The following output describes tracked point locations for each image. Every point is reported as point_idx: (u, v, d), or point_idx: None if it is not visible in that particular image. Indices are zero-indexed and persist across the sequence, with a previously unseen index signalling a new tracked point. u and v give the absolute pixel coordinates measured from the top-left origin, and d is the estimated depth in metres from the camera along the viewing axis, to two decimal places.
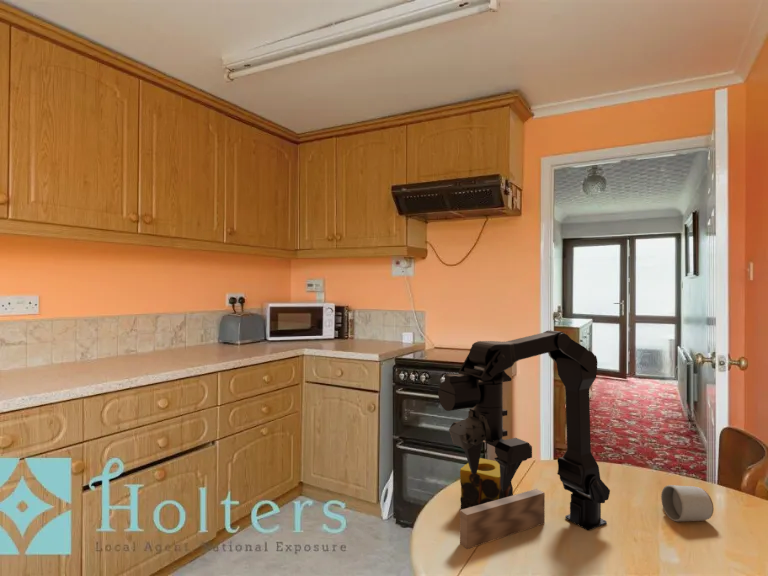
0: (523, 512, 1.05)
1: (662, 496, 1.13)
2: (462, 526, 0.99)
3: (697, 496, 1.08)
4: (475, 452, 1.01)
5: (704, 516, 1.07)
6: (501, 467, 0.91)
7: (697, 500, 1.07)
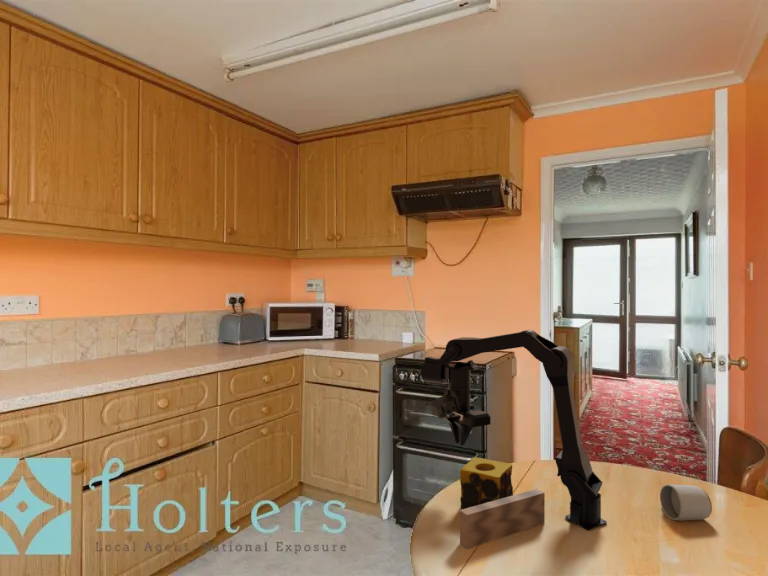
0: (523, 512, 1.05)
1: (661, 495, 1.14)
2: (462, 526, 0.99)
3: (695, 495, 1.08)
4: (458, 426, 1.28)
5: (703, 515, 1.07)
6: (459, 428, 1.24)
7: (696, 499, 1.08)
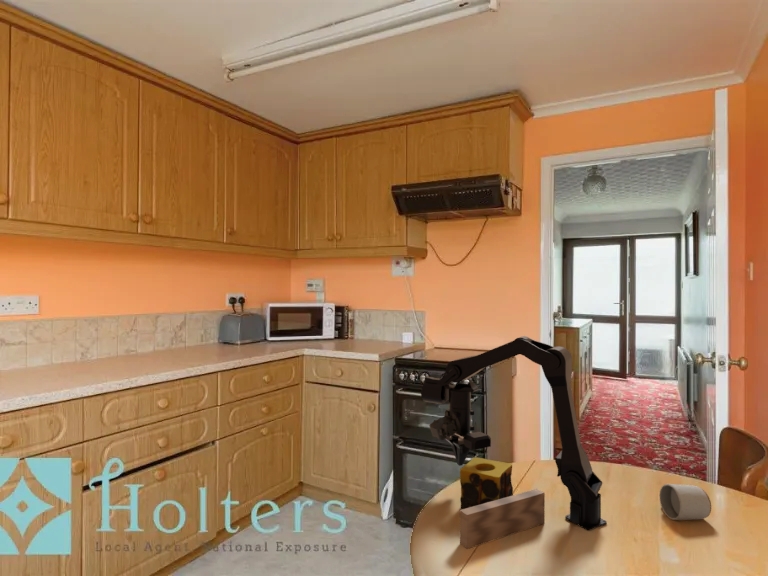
0: (523, 512, 1.05)
1: (660, 495, 1.14)
2: (462, 526, 0.99)
3: (695, 494, 1.08)
4: None
5: (702, 514, 1.08)
6: (457, 448, 1.25)
7: (695, 499, 1.08)
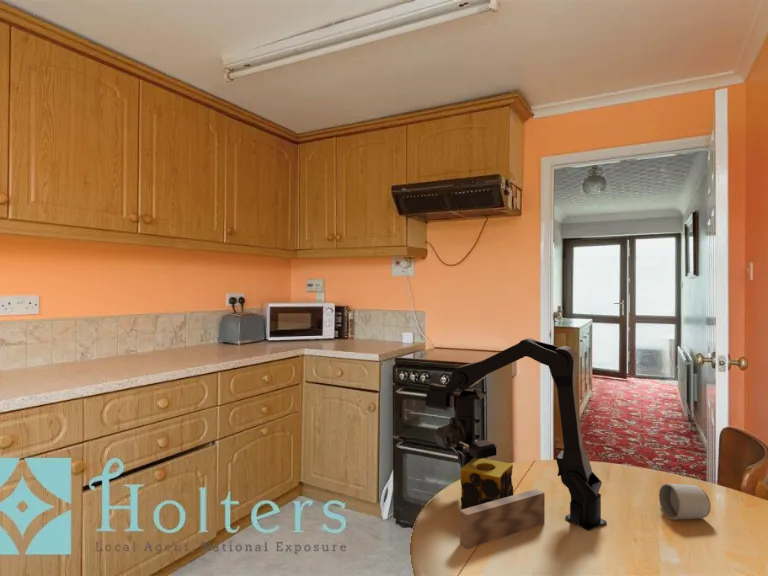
0: (523, 512, 1.05)
1: (660, 494, 1.14)
2: (462, 526, 0.99)
3: (694, 494, 1.09)
4: None
5: (701, 514, 1.08)
6: (462, 456, 1.23)
7: (694, 498, 1.08)
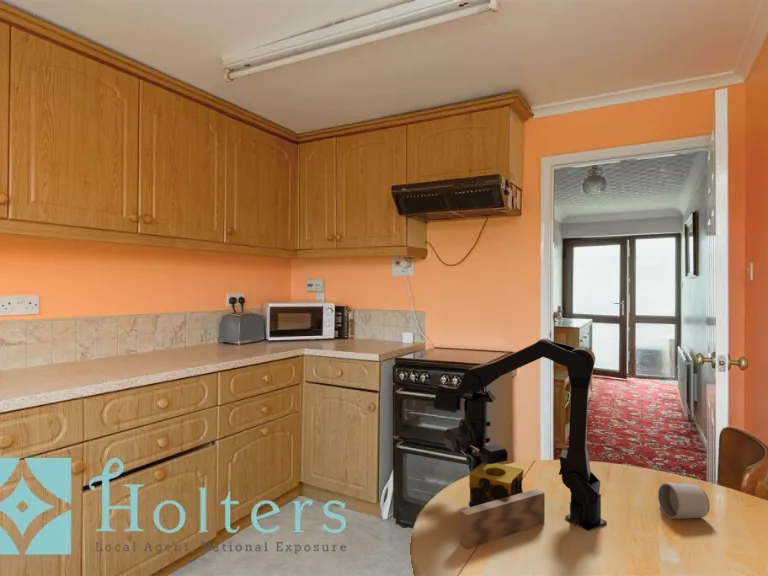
0: (523, 512, 1.05)
1: (659, 494, 1.15)
2: (462, 526, 0.99)
3: (693, 493, 1.09)
4: None
5: (700, 513, 1.08)
6: (471, 460, 1.19)
7: (693, 498, 1.08)
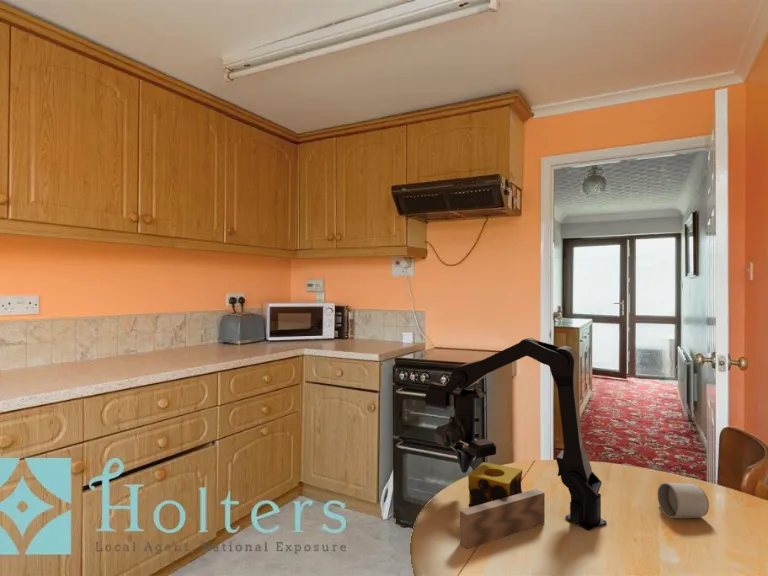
0: (523, 512, 1.05)
1: (658, 493, 1.15)
2: (462, 526, 0.99)
3: (692, 493, 1.09)
4: None
5: (700, 513, 1.08)
6: (462, 455, 1.23)
7: (693, 497, 1.08)
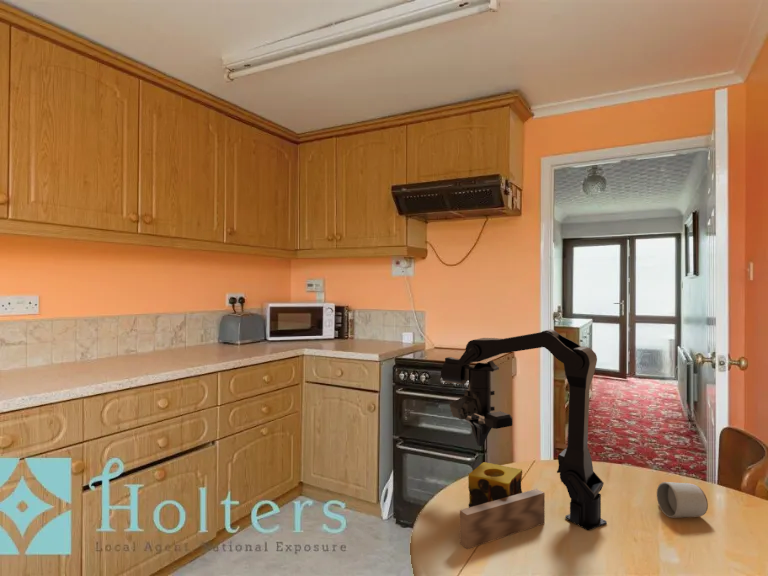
0: (523, 512, 1.05)
1: (657, 493, 1.15)
2: (462, 526, 0.99)
3: (691, 492, 1.09)
4: None
5: (699, 512, 1.09)
6: (478, 428, 1.23)
7: (692, 497, 1.09)
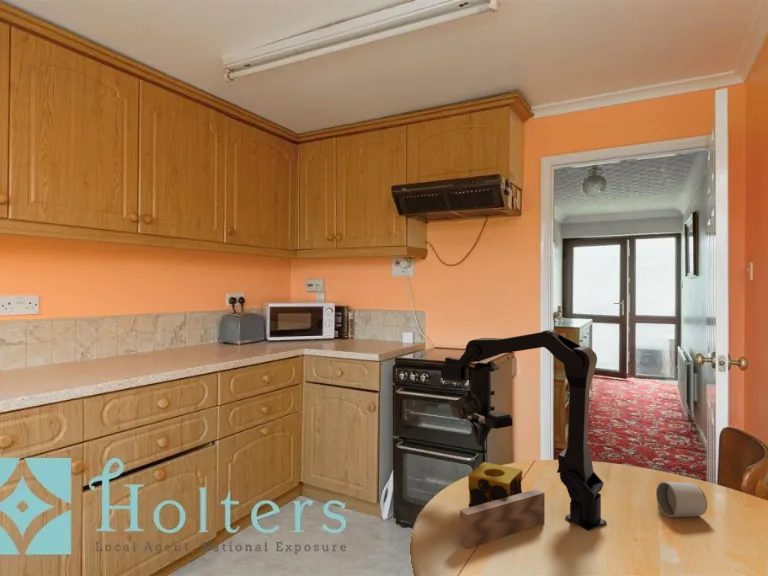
0: (523, 512, 1.05)
1: (657, 492, 1.15)
2: (462, 526, 0.99)
3: (691, 492, 1.10)
4: None
5: (698, 511, 1.09)
6: (478, 428, 1.23)
7: (691, 496, 1.09)
